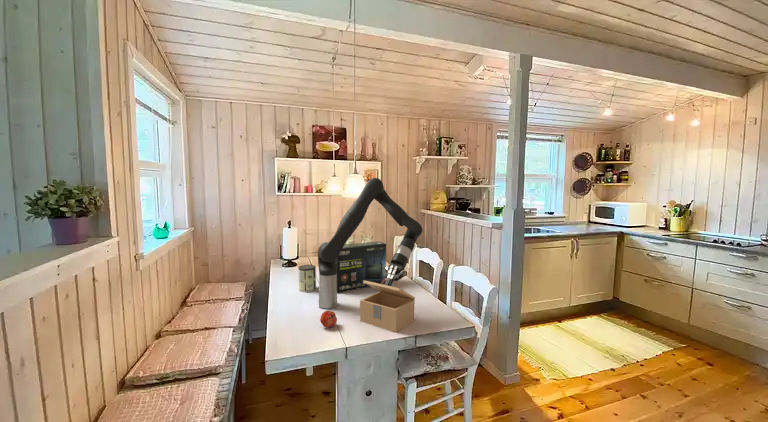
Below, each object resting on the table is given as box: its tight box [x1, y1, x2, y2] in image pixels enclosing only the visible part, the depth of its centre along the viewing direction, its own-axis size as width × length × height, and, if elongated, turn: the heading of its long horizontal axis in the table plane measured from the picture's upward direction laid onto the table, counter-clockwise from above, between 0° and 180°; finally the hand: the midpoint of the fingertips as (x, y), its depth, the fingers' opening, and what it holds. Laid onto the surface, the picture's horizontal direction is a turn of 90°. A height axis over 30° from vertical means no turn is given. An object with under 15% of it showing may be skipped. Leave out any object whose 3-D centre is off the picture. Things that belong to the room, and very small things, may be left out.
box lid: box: [363, 280, 416, 299], centre depth 154 cm, size 16×20×1 cm
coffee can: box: [297, 264, 317, 293], centre depth 198 cm, size 10×10×14 cm
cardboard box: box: [359, 291, 416, 333], centre depth 153 cm, size 16×20×10 cm
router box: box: [335, 240, 387, 294], centre depth 204 cm, size 36×11×27 cm, turn 123°
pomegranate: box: [319, 310, 338, 329], centre depth 147 cm, size 7×7×10 cm
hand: (386, 286), depth 152 cm, fingers closed
